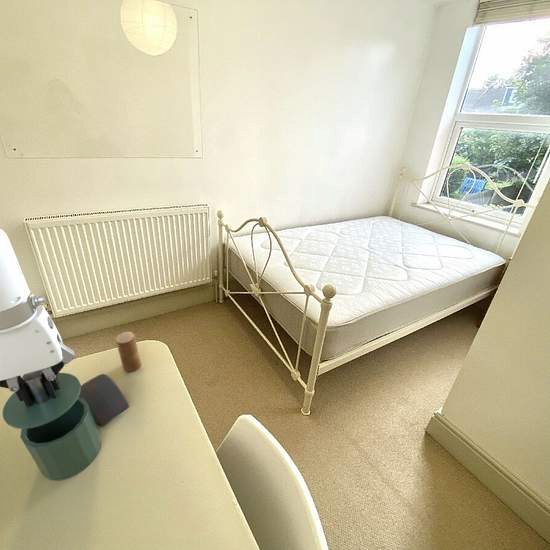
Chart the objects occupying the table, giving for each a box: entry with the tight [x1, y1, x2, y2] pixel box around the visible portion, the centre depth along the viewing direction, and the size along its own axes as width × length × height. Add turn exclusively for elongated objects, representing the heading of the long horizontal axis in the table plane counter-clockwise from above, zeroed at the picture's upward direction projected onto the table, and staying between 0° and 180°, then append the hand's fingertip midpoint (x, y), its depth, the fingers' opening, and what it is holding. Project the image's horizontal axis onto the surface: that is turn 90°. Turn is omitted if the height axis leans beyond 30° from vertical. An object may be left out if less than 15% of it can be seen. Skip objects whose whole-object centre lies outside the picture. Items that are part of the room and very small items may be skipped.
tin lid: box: [2, 370, 82, 429], centre depth 53 cm, size 11×11×7 cm
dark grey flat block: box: [79, 373, 130, 427], centre depth 71 cm, size 8×14×4 cm, turn 55°
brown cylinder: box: [115, 331, 142, 373], centre depth 80 cm, size 4×4×10 cm
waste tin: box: [20, 397, 102, 481], centre depth 59 cm, size 10×10×10 cm
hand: (42, 395), depth 54 cm, fingers closed on tin lid, 2 cm apart
